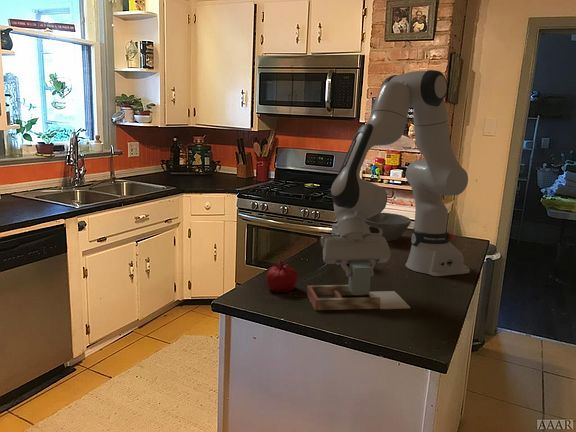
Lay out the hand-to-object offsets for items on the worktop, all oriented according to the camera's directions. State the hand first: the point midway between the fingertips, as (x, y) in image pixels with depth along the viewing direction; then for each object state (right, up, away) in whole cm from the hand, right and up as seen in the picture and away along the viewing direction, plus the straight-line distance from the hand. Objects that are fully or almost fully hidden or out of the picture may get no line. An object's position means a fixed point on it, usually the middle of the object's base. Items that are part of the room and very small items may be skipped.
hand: (360, 275), depth 140 cm
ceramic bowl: (+21, +7, +73) cm, 76 cm away
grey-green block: (0, -5, +2) cm, 5 cm away
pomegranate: (-23, -6, +9) cm, 25 cm away
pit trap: (-10, -8, 0) cm, 13 cm away
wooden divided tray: (-5, -8, +1) cm, 9 cm away
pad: (+9, -8, +4) cm, 12 cm away
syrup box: (-2, 0, +39) cm, 39 cm away
